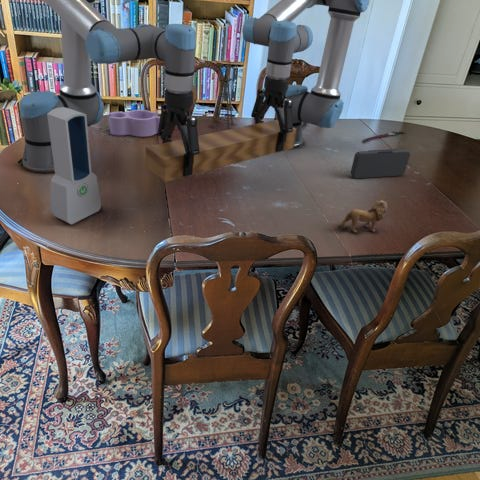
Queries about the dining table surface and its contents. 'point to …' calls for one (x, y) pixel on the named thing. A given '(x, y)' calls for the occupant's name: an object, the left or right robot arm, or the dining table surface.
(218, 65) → the miniature windmill
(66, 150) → the electronic device
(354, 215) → the lion figurine
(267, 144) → the wide beam
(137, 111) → the purple desk organizer
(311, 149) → the dining table surface
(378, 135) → the sword
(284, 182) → the dining table surface
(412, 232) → the dining table surface
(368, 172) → the handheld gaming console
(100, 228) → the dining table surface
